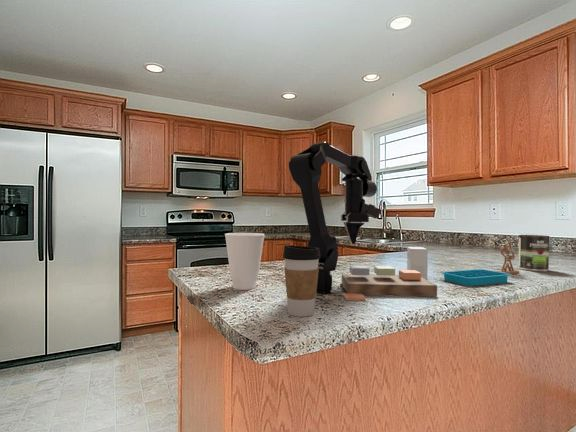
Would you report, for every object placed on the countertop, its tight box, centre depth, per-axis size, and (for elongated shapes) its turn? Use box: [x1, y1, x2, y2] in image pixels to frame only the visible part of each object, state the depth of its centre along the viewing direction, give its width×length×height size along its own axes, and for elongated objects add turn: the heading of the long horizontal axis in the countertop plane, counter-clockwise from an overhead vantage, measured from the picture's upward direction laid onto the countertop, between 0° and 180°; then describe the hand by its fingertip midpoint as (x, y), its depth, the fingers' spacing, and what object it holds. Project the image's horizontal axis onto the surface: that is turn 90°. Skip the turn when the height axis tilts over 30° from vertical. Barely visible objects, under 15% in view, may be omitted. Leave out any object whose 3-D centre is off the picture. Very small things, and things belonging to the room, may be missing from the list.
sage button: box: [373, 265, 396, 276], centre depth 101 cm, size 5×5×2 cm
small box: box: [406, 246, 428, 280], centre depth 119 cm, size 8×6×10 cm
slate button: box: [349, 265, 370, 275], centre depth 101 cm, size 5×5×2 cm
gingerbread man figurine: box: [496, 241, 520, 276], centre depth 128 cm, size 9×4×12 cm, turn 117°
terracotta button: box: [398, 269, 421, 280], centre depth 100 cm, size 5×5×2 cm
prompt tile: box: [343, 292, 366, 302], centre depth 89 cm, size 5×5×1 cm
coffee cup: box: [282, 244, 321, 318], centre depth 75 cm, size 8×8×15 cm
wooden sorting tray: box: [341, 273, 438, 297], centre depth 99 cm, size 24×15×3 cm, turn 88°
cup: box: [224, 232, 265, 291], centre depth 101 cm, size 12×12×16 cm
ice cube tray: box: [440, 268, 512, 287], centre depth 113 cm, size 12×20×3 cm, turn 112°
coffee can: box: [517, 234, 551, 272], centre depth 139 cm, size 10×10×14 cm
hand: (353, 243), depth 109 cm, fingers closed
